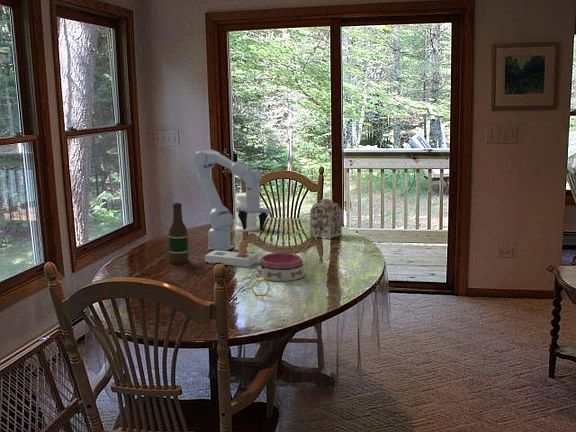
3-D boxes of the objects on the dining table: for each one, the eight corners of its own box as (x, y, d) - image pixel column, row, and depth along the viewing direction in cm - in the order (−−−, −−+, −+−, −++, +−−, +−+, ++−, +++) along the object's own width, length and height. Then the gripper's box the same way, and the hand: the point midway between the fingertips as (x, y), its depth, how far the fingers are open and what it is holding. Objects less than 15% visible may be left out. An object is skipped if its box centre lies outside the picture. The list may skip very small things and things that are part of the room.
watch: (252, 297, 200) (250, 280, 199) (252, 294, 203) (250, 278, 202) (270, 295, 201) (268, 278, 199) (269, 293, 203) (268, 276, 202)
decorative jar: (342, 235, 292) (342, 198, 288) (330, 239, 282) (331, 202, 279) (320, 232, 298) (321, 196, 295) (308, 236, 288) (309, 200, 285)
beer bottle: (192, 260, 245) (190, 202, 241) (182, 265, 238) (181, 205, 234) (175, 258, 248) (173, 201, 243) (165, 263, 241) (163, 204, 236)
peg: (237, 263, 240) (237, 241, 239) (240, 261, 243) (240, 240, 242) (244, 264, 240) (244, 242, 238) (247, 262, 242) (247, 240, 241)
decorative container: (257, 231, 299) (257, 196, 296) (234, 231, 299) (233, 196, 296) (258, 226, 310) (258, 192, 307) (236, 226, 311) (236, 192, 307)
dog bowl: (312, 280, 220) (312, 262, 218) (263, 284, 214) (263, 266, 213) (297, 267, 237) (297, 250, 236) (251, 270, 232) (251, 253, 230)
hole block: (205, 262, 242) (204, 255, 241) (215, 257, 250) (214, 250, 250) (248, 266, 236) (248, 259, 235) (257, 261, 244) (257, 254, 243)
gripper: (233, 198, 251) (233, 230, 254) (265, 200, 246) (265, 232, 249) (240, 196, 257) (240, 226, 260) (271, 197, 253) (271, 229, 255)
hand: (253, 229), depth 255 cm, fingers open, 7 cm apart
